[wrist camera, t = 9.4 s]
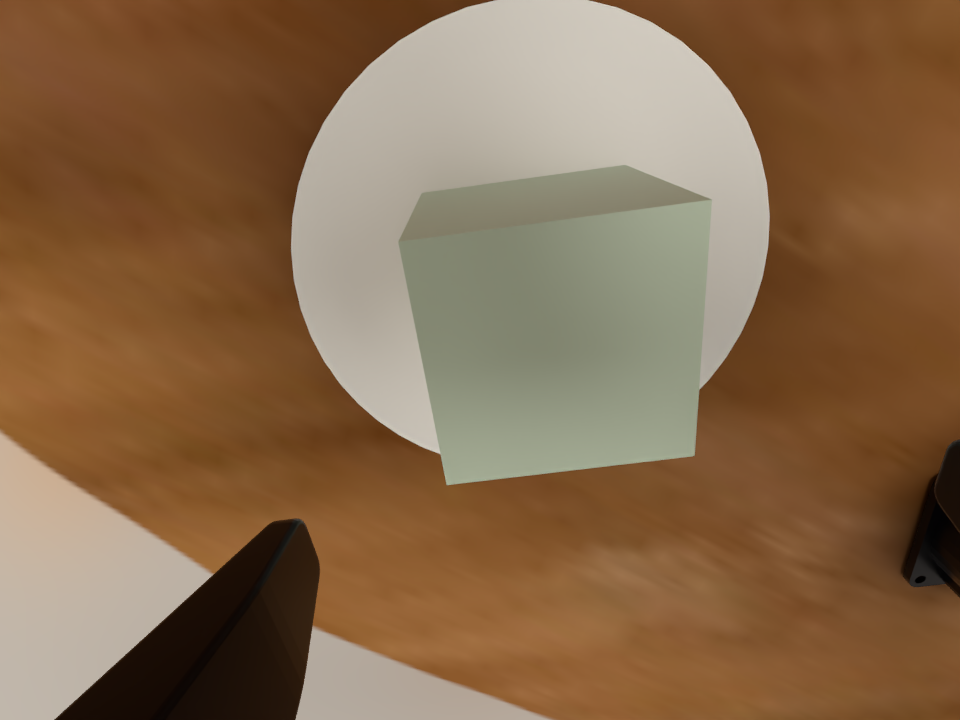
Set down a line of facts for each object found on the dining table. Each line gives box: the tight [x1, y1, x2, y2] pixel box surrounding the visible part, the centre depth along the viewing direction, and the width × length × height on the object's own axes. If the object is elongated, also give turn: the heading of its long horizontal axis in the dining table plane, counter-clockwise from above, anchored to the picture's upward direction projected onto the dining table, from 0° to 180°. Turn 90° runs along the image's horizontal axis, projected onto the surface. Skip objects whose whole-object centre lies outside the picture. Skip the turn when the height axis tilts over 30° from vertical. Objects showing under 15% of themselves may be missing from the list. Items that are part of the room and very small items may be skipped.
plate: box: [291, 0, 770, 454], centre depth 17 cm, size 15×15×2 cm
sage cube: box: [398, 165, 712, 485], centre depth 14 cm, size 6×6×6 cm
